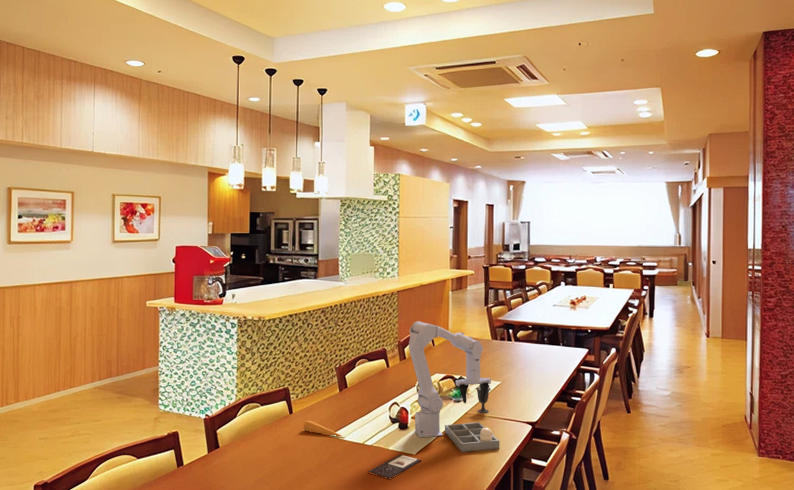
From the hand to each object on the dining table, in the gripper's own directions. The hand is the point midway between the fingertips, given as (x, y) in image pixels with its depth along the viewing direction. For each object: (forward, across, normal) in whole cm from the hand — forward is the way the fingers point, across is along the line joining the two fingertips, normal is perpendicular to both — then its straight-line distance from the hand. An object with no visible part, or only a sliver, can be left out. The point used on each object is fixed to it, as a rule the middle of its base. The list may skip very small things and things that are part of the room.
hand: (473, 401), depth 240 cm
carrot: (+10, -61, +3) cm, 62 cm away
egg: (+9, -4, -24) cm, 26 cm away
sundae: (+10, +10, +16) cm, 21 cm away
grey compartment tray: (+9, -7, -17) cm, 21 cm away
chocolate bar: (+10, -40, -35) cm, 54 cm away
